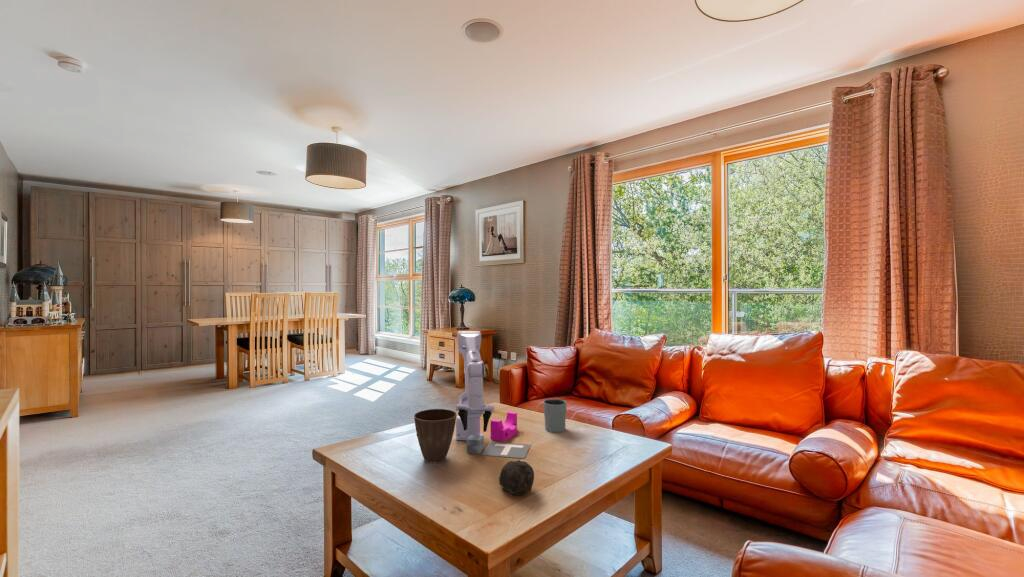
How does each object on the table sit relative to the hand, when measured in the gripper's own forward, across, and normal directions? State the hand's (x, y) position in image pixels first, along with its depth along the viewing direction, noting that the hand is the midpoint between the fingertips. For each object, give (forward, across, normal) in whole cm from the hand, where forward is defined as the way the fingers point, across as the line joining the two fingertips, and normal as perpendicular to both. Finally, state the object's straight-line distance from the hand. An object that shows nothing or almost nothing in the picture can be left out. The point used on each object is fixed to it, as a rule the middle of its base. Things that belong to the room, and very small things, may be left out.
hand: (475, 430), depth 167 cm
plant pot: (+8, -12, -11) cm, 18 cm away
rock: (+8, +22, -29) cm, 37 cm away
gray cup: (+8, +26, +31) cm, 42 cm away
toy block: (+8, +8, +20) cm, 23 cm away
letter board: (+8, +12, +3) cm, 14 cm away
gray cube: (+8, 0, 0) cm, 8 cm away
